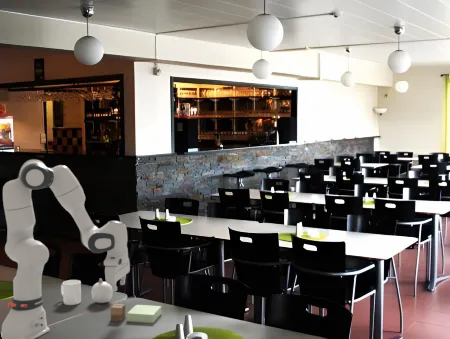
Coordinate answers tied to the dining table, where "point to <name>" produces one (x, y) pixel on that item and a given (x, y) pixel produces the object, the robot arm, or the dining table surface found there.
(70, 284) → the cup
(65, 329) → the dining table surface
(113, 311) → the walnut block
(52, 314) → the dining table surface
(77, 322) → the dining table surface
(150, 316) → the base box
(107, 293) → the ornament
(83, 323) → the dining table surface
